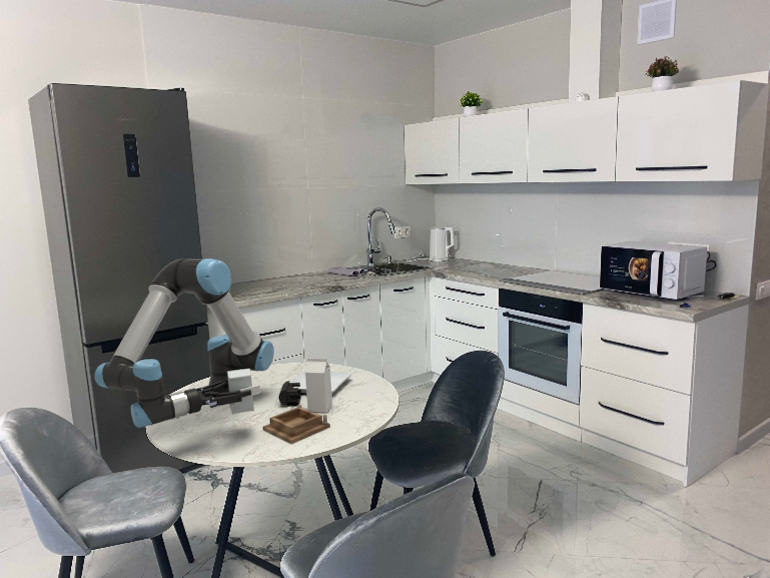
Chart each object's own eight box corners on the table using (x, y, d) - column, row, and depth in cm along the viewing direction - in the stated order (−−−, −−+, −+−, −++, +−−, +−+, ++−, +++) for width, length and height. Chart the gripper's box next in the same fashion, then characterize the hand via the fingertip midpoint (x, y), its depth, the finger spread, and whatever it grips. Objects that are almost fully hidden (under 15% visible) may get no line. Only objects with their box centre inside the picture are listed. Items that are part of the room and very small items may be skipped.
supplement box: (231, 415, 188) (227, 378, 185) (230, 406, 195) (226, 370, 192) (254, 411, 190) (251, 374, 187) (253, 403, 197) (249, 367, 194)
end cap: (282, 397, 224) (281, 380, 223) (301, 396, 224) (300, 379, 223) (279, 407, 214) (277, 390, 213) (298, 406, 214) (297, 389, 213)
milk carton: (326, 413, 207) (323, 362, 204) (307, 412, 209) (304, 361, 205) (332, 405, 214) (329, 355, 210) (314, 404, 216) (310, 355, 212)
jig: (262, 429, 195) (261, 418, 195) (301, 414, 207) (300, 403, 206) (291, 443, 184) (290, 431, 184) (330, 427, 195) (329, 415, 195)
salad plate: (333, 399, 221) (332, 390, 220) (282, 395, 227) (282, 386, 226) (353, 380, 240) (352, 372, 240) (306, 376, 247) (305, 369, 246)
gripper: (176, 403, 190) (242, 386, 203) (198, 425, 173) (268, 405, 185) (173, 382, 189) (240, 365, 201) (195, 402, 171) (266, 383, 184)
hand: (253, 384), depth 193 cm, fingers closed on supplement box, 9 cm apart
